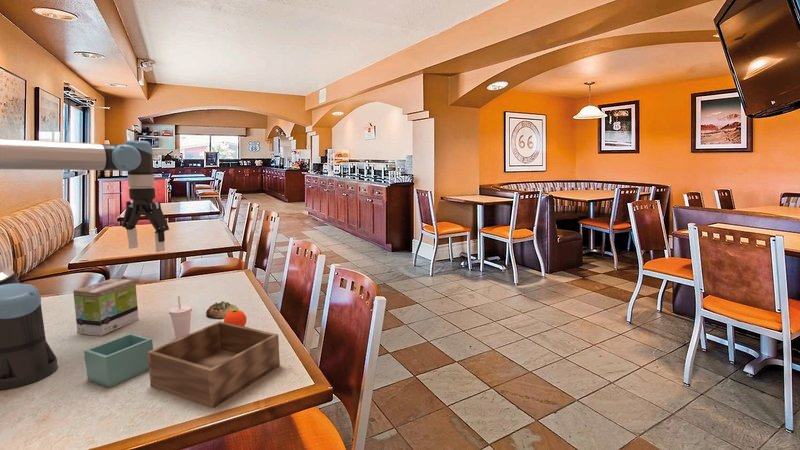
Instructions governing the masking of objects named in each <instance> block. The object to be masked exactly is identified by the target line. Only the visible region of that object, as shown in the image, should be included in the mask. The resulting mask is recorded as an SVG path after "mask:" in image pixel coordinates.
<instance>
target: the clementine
mask: <svg viewBox="0 0 800 450" xmlns="http://www.w3.org/2000/svg"><path fill="white" fill-rule="evenodd" d="M223 322H225V323H229V324H234V325H238V326H243V327H245V325H246V324H247V316H246V313H244V311H242V310H240V309H238V310H237V309H233V310H232V311H230V312H228V313H227V314H226V316H225V318H223Z"/></svg>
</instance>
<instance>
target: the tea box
mask: <svg viewBox="0 0 800 450" xmlns="http://www.w3.org/2000/svg"><path fill="white" fill-rule="evenodd" d="M72 293H73V301H74V313H75V321H76V323H75V324H76V332H77V334H78V335H79V334H80V335H88V336H96V337H97V336H100V337H102V336H104V335H106V334H108V333H110V332H112V331H115V330H117V329H119V328H122V327H123V326H126V325H129V324H131V323H133V322H136V321H138V320H139V310H138V309H139V307H138V298H137V297H138V296H137V285H136V280H135V279H123V278H110V279H106V280H103V281H101V282H100V281H99V282H97V283H94V284H91V285H90V284H89V285H87V286H84V287H81V288H77V289H74V290H73V291H72Z"/></svg>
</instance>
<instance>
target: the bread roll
mask: <svg viewBox="0 0 800 450" xmlns="http://www.w3.org/2000/svg"><path fill="white" fill-rule="evenodd" d="M233 309H237V310H239V308H238V307H237V305H235V304H232V303H230V302H229V301H227V302H226V301H224V300H223V301H220V302H215V303H214V304H212V305H210V306H209V307H208V309H207V310H206V312H205V314H206V315H205V316H206V317H207V318H209V319H214V318H215V320H218V319H219V320H221V319H223V320H224V318H225V316H226V314H227V313H228V312H230V311H232V310H233Z"/></svg>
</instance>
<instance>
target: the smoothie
mask: <svg viewBox="0 0 800 450" xmlns="http://www.w3.org/2000/svg"><path fill="white" fill-rule="evenodd" d="M177 302H178V304H177V305H178V306H174V307H172V308H170V309H169V310H168V312H169V313H168V314H169V315H170V318H171V322H172V327H173V331H174V335H175V340H177V339H179V338H181V337H184V336H186V335H189V334H191V315H192V311H193V308H192V306H190V305H182V304H181V296H180V295H178V296H177Z"/></svg>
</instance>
